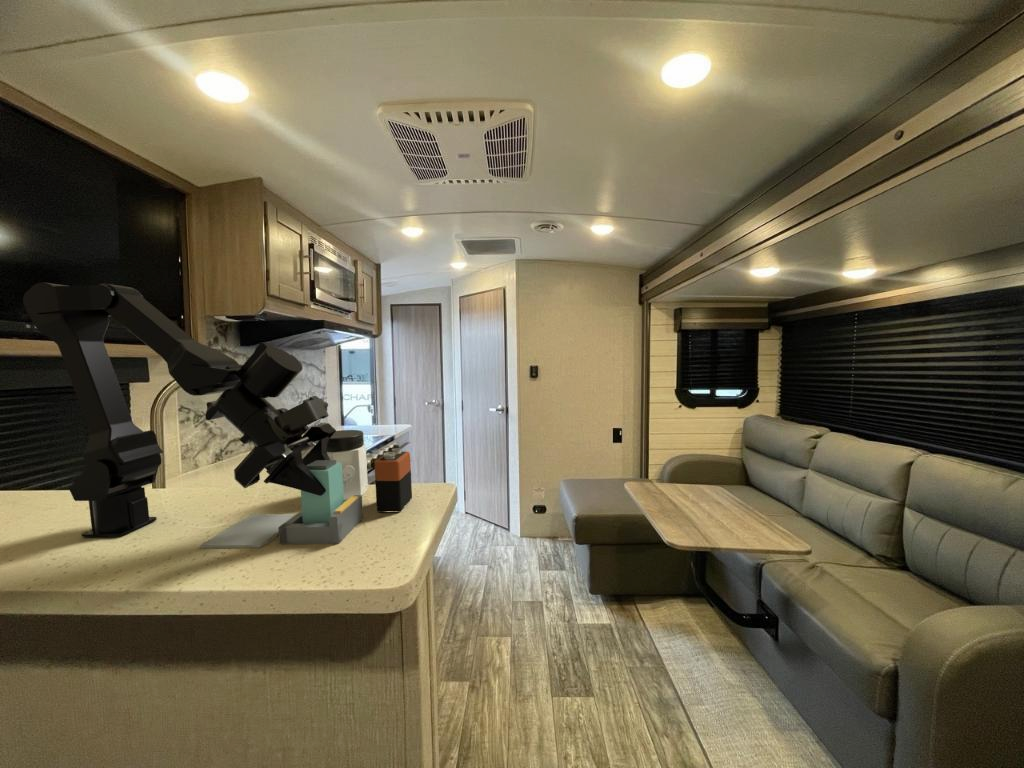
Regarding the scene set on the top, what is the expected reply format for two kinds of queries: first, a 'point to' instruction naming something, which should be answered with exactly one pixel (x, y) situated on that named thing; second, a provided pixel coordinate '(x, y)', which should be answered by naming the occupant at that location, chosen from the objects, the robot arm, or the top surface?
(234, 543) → the mat
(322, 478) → the plug
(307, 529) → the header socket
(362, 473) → the jar
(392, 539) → the top surface
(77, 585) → the top surface
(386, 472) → the battery
